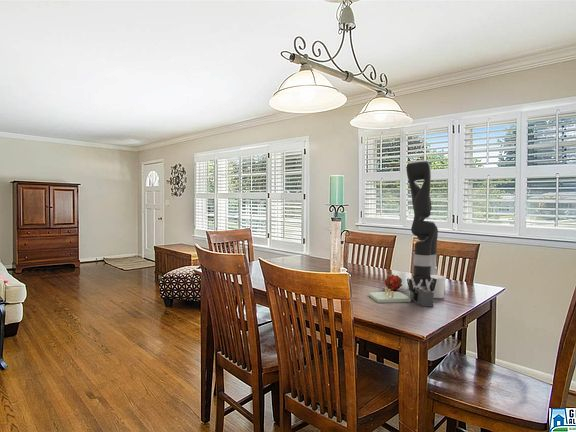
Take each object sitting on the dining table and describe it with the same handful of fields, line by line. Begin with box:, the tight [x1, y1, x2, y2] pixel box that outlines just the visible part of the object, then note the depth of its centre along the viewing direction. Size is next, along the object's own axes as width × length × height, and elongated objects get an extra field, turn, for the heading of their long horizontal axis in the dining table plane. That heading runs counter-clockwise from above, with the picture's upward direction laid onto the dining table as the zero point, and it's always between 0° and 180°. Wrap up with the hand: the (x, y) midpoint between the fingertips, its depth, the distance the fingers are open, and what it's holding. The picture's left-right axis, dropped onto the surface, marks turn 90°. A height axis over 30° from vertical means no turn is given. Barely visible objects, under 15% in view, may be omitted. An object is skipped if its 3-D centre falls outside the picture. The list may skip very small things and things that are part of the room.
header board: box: [368, 286, 412, 304], centre depth 174 cm, size 16×12×4 cm
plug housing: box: [409, 285, 434, 307], centre depth 168 cm, size 5×12×6 cm, turn 9°
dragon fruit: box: [384, 274, 403, 292], centre depth 190 cm, size 8×8×12 cm
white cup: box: [429, 274, 447, 299], centre depth 178 cm, size 8×8×10 cm
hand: (421, 300), depth 168 cm, fingers closed on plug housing, 5 cm apart
